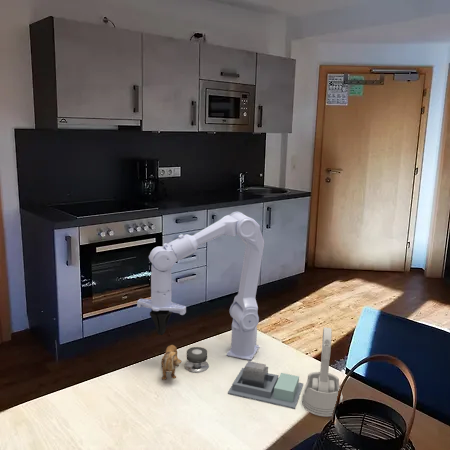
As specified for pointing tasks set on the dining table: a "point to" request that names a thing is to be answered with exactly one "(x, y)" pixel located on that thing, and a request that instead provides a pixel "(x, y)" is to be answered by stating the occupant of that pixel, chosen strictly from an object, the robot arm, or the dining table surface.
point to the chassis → (270, 390)
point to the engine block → (255, 375)
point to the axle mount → (196, 366)
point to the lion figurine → (170, 361)
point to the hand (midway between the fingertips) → (161, 333)
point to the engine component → (322, 384)
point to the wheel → (196, 355)
